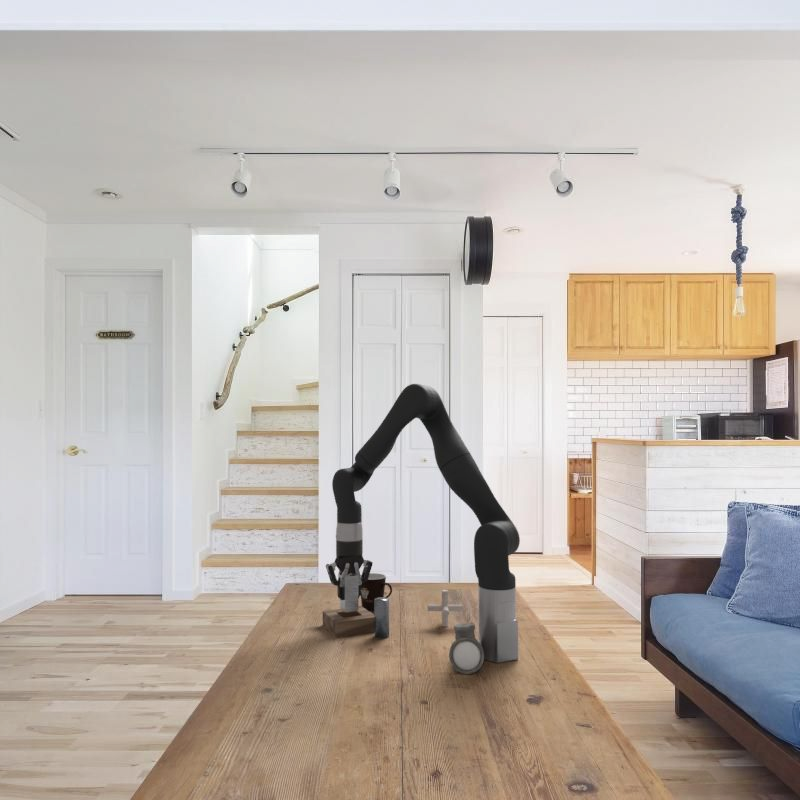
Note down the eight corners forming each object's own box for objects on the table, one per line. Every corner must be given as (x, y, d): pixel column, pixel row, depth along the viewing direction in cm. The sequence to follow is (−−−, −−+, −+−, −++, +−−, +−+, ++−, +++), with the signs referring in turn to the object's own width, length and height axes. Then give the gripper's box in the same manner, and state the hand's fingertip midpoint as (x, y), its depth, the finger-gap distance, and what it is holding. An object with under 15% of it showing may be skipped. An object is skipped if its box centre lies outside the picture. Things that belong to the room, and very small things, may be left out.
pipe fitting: (485, 674, 149) (481, 627, 151) (450, 675, 150) (446, 629, 152) (485, 661, 161) (481, 618, 162) (453, 662, 162) (449, 620, 163)
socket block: (377, 631, 182) (377, 616, 182) (336, 637, 177) (336, 622, 177) (361, 619, 193) (361, 606, 193) (322, 625, 187) (322, 611, 188)
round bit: (391, 637, 176) (391, 600, 177) (377, 639, 175) (377, 601, 175) (385, 633, 180) (385, 596, 180) (372, 635, 178) (372, 598, 179)
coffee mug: (354, 606, 206) (354, 574, 207) (379, 603, 210) (379, 572, 210) (368, 616, 196) (368, 582, 196) (394, 612, 200) (394, 579, 200)
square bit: (358, 610, 184) (358, 575, 184) (345, 612, 182) (345, 576, 183) (353, 607, 187) (353, 572, 188) (340, 608, 186) (340, 573, 186)
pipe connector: (463, 631, 181) (463, 595, 182) (428, 631, 181) (428, 595, 182) (461, 620, 191) (461, 586, 192) (427, 620, 191) (427, 586, 192)
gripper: (329, 542, 179) (329, 605, 179) (377, 538, 185) (377, 598, 185) (321, 537, 186) (321, 598, 185) (367, 534, 192) (367, 592, 191)
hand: (349, 598), depth 185 cm, fingers closed on square bit, 4 cm apart
